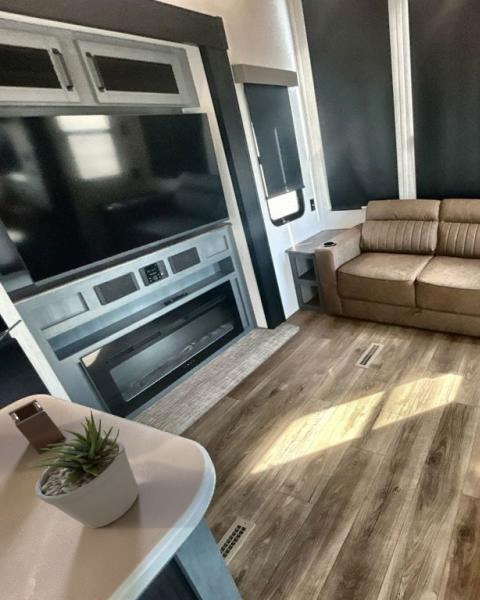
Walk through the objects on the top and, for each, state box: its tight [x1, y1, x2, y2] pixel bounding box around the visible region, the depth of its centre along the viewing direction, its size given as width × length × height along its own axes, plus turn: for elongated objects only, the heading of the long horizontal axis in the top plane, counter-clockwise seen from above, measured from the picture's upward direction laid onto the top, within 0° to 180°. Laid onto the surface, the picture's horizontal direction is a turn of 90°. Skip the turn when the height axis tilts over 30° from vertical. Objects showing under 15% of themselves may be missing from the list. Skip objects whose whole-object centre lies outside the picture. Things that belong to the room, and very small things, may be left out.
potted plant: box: [28, 409, 139, 529], centre depth 64 cm, size 13×14×20 cm
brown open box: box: [8, 398, 67, 455], centre depth 85 cm, size 8×5×9 cm, turn 54°
